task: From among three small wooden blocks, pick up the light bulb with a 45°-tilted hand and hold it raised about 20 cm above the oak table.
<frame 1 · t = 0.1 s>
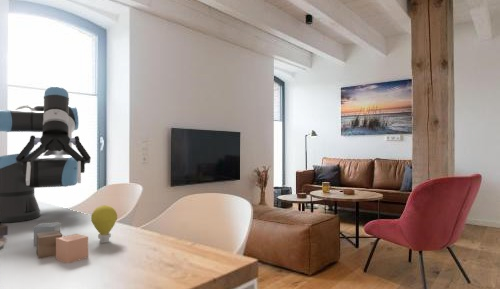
hand: (54, 182, 105), 15 cm above the table, tool tilted 35°, fingers open, 13 cm apart
walnut block: (49, 254, 87), on the table
terracotta block: (72, 258, 83), on the table
light bulb: (104, 242, 97), on the table
slate grey block: (47, 242, 96), on the table
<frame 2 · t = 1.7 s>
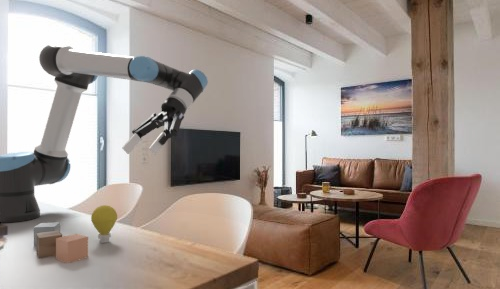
hand: (138, 151, 105), 25 cm above the table, tool tilted 45°, fingers open, 13 cm apart
nothing on the table moved.
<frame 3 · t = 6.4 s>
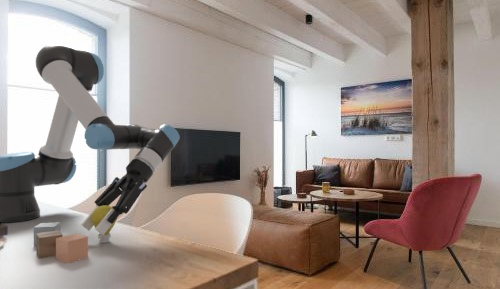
hand: (92, 229, 94), 4 cm above the table, tool tilted 45°, fingers closed on light bulb, 7 cm apart
light bulb: (104, 242, 97), on the table, touching gripper
everything else where it was.
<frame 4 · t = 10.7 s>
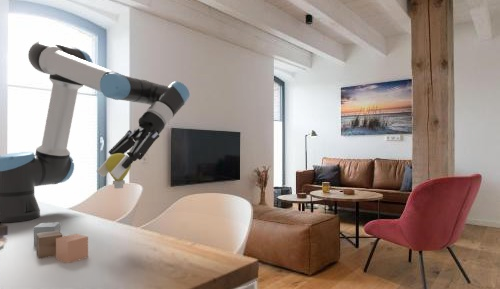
hand: (107, 175, 98), 18 cm above the table, tool tilted 45°, fingers closed on light bulb, 7 cm apart
light bulb: (118, 188, 100), point 14 cm above the table, touching gripper
everything else where it was.
at the end: the gripper is holding light bulb; light bulb point 14.2 cm above the table; slate grey block moved 0.1 cm from its start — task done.
